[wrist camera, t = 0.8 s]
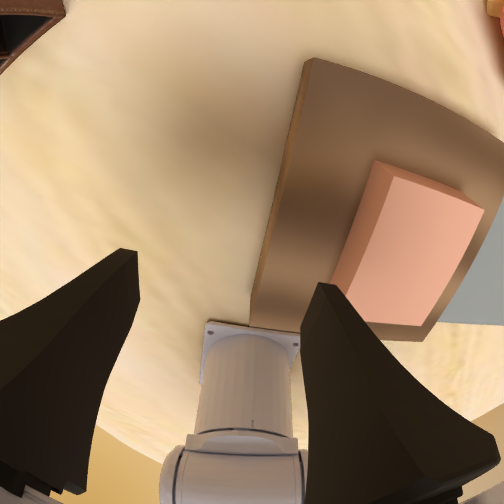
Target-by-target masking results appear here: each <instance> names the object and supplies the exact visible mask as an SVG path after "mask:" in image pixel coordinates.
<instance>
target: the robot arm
mask: <svg viewBox="0 0 504 504" xmlns="http://www.w3.org/2000/svg"><path fill="white" fill-rule="evenodd" d="M139 302H140V290H139V275H138V254H137V251H133V250H128V249H122V248H120V249H118V250H116V251H115V252H113V253H111V254H110V255H108V256H107V257H105V258H104V259H103V260H101V261H100V262H98V263H97V264H95V265H94V266H92V267H91V268H89V269H88V270H86V271H85V272H84V273H82V274H81V275H79V276H78V277H76V278H75V279H73V280H72V281H70V282H69V283H67V284H65V285H64V286H62V287H61V288H59V289H58V290H56V291H55V292H53V293H52V294H50V295H48V296H47V297H45V298H43V299H42V300H40V301H38V302H37V303H35V304H33V305H31V306H29V307H28V308H26V309H24V310H22V311H20V312H18V313H16V314H14V315H12V316H10V317H8V318H5V319H3V320H1V321H0V504H63V503H61V502H59V501H57V500H54V499H52V498H50V497H49V495H50V492H51V490H52V491H54V492H56V493H58V494H60V495H61V494H62V492H63V489H64V490H66V491H69V492H71V493H73V494H76V495H79V494H82V493H84V492H86V487H87V486H86V485H87V474H88V464H89V456H90V450H91V444H92V438H93V433H94V428H95V424H96V419H97V415H98V411H99V407H100V403H101V399H102V396H103V392H104V389H105V386H106V383H107V381H108V378H109V376H110V373H111V371H112V369H113V366H114V364H115V362H116V360H117V357H118V355H119V353H120V351H121V348H122V346H123V344H124V342H125V340H126V337H127V335H128V333H129V331H130V328H131V326H132V323H133V320H134V317H135V314H136V311H137V308H138V305H139ZM299 349H300V354H301V363H302V370H303V378H304V385H305V393H306V401H307V409H308V422H309V441H308V450H305V449H303V450H298V439H297V438H293V425H292V406H291V388H290V371H289V370H290V368H291V366H292V364H293V362H294V360H295V357H296V355H297V353H298V351H299ZM199 383H200V384H201V385H202V386H201V392H200V398H199V404H198V411H197V417H196V424H195V430H194V435H193V434H188V435H187V438H186V444H185V446H184V445H178V446H176V447H175V448H174V449H173V450H172V451H171V452H170V453H169V454H168V455H167V456H166V458H165V460H164V463H163V467H162V470H161V474H160V481H159V499H160V504H458V500H457V498H458V497H460V496H462V495H463V490H462V486H463V485H464V484H466V483H468V482H470V481H471V480H474V479H475V478H477V477H479V476H481V475H482V474H484V473H486V472H487V471H489V470H491V469H492V468H494V467H495V466H496V465H498V464H499V462H500V460H501V458H500V454H499V451H498V447H497V444H496V441H495V438H494V436H493V435H492V434H490V433H488V432H487V431H485V430H483V429H482V428H480V427H478V426H476V425H475V424H473V423H471V422H470V421H468V420H467V419H465V418H464V417H462V416H461V415H459V414H458V413H457V412H455V411H454V410H452V409H451V408H450V407H448V406H447V405H446V404H444V403H443V402H442V401H441V400H439V399H438V398H437V397H436V396H435V395H433V394H432V393H431V392H430V391H429V390H428V389H426V388H425V387H424V386H423V385H422V384H421V383H420V382H419V381H418V380H416V379H415V378H414V377H413V376H412V375H411V374H410V373H409V372H408V371H407V370H406V369H405V368H404V367H403V366H402V365H401V364H400V362H399V361H398V360H397V359H396V358H395V357H394V356H393V355H392V354H391V353H390V351H389V350H388V349H387V348H386V347H385V346H384V344H383V343H382V342H381V341H380V340H379V339H378V337H377V336H376V335H375V334H374V332H373V331H372V330H371V329H370V327H369V326H368V325H367V324H366V322H365V321H364V320H363V319H362V317H361V316H360V315H359V313H358V312H357V311H356V309H355V308H354V307H353V306H352V304H351V303H350V302H349V300H348V299H347V298H346V296H345V295H344V294H343V293H342V291H341V290H340V289H339V288H338V287H337V285H335V284H328V283H322V282H318V284H317V286H316V289H315V291H314V294H313V296H312V299H311V301H310V304H309V306H308V309H307V311H306V314H305V316H304V318H303V321H302V323H301V326H300V334H297V333H289V332H281V331H273V330H266V329H258V328H251V327H245V326H238V325H232V324H225V323H219V322H213V321H209V322H207V323H206V325H205V332H204V342H203V351H202V361H201V371H200V382H199ZM459 504H504V482H503V481H502V482H500V483H499V484H497V485H495V486H493V487H492V488H490V489H488V490H486V491H484V492H482V493H481V494H478V495H476V496H474V497H472V498H470V499H468V500H465V501H463V502H461V503H459Z"/></svg>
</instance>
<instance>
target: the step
mask: <svg viewBox="0 0 504 504" xmlns="http://www.w3.org/2000/svg"><path fill="white" fill-rule="evenodd" d="M374 160H376V161H380V162H383V163H386V164H389V165H392V166H395V167H398V168H401V169H404V170H407V171H410V172H412V173H415V174H418V175H421V176H423V177H426V178H429V179H431V180H434V181H437V182H439V183H442V184H444V185H447V186H449V187H452V188H454V189H457V190H459V191H461V192H462V193H464V194H465V195H466V196H468V197H469V198H470V199H471V200H473V201H474V202H475V203H477V204H478V205H479V206H480V207H482V208H483V209H484V213H483V215H482V217H481V220H480V222H479V224H478V226H477V228H476V231H475V233H474V235H473V237H472V239H471V241H470V243H469V245H468V247H467V249H466V251H465V253H464V255H463V257H462V259H461V261H460V263H459V264H458V266H457V268H456V270H455V272H454V274H453V275H452V277H451V279H450V281H449V282H448V284H447V286H446V287H445V289H444V291H443V292H442V294H441V296H440V297H439V299H438V301H437V302H436V304H435V305H434V307H433V309H432V310H431V312H430V313H429V315H428V316H427V318H426V319H425V321H424V322H423V324H422V325H421V326H412V325H400V324H388V323H377V322H366V321H365V322H366V324H367V325H368V326H369V327H370V329H371V330H372V331H373V332H374V334H375V335H376V336H377V337H378V339H379V340H391V341H412V342H423V340H424V339H425V337H426V336H427V335H428V333H429V332H430V331H431V329H432V328H433V326H434V325H435V323H436V322H437V320H438V319H439V318H440V316H441V315H442V313H443V312H444V310H445V308H446V307H447V305H448V304H449V302H450V301H451V299H452V297H453V296H454V294H455V293H456V291H457V289H458V288H459V286H460V284H461V283H462V281H463V279H464V277H465V276H466V274H467V272H468V270H469V269H470V267H471V265H472V263H473V261H474V259H475V257H476V256H477V254H478V252H479V250H480V248H481V246H482V244H483V242H484V240H485V238H486V236H487V234H488V231H489V229H490V227H491V225H492V223H493V220H494V218H495V216H496V214H497V211H498V209H499V207H500V204H501V202H502V199H503V197H504V143H503V142H502V141H500V140H499V139H497V138H496V137H494V136H493V135H491V134H490V133H488V132H487V131H485V130H483V129H482V128H480V127H479V126H477V125H475V124H474V123H472V122H470V121H469V120H467V119H465V118H463V117H462V116H460V115H458V114H456V113H454V112H452V111H451V110H449V109H447V108H445V107H443V106H441V105H439V104H437V103H435V102H433V101H431V100H429V99H427V98H425V97H423V96H420V95H418V94H416V93H414V92H412V91H409V90H407V89H405V88H402V87H400V86H398V85H395V84H393V83H390V82H388V81H385V80H383V79H380V78H377V77H375V76H372V75H369V74H366V73H363V72H361V71H358V70H355V69H352V68H348V67H345V66H342V65H339V64H335V63H332V62H329V61H325V60H321V59H318V58H312V59H310V60H308V61H306V62H304V67H303V72H302V76H301V81H300V85H299V90H298V94H297V99H296V103H295V108H294V112H293V116H292V121H291V125H290V130H289V134H288V139H287V143H286V147H285V152H284V156H283V161H282V165H281V169H280V174H279V178H278V182H277V187H276V191H275V195H274V200H273V204H272V208H271V213H270V217H269V221H268V225H267V230H266V234H265V238H264V242H263V247H262V251H261V255H260V259H259V264H258V268H257V272H256V276H255V280H254V285H253V289H252V293H251V300H250V320H249V326H253V327H260V328H267V329H275V330H282V331H290V332H299V333H300V326H301V323H302V321H303V318H304V316H305V314H306V311H307V309H308V306H309V304H310V301H311V299H312V296H313V294H314V291H315V289H316V286H317V284H318V282H322V283H328V284H329V283H330V281H331V279H332V276H333V274H334V271H335V269H336V266H337V264H338V261H339V259H340V256H341V253H342V251H343V248H344V246H345V243H346V240H347V238H348V235H349V232H350V230H351V227H352V224H353V221H354V219H355V216H356V213H357V210H358V207H359V204H360V202H361V199H362V196H363V193H364V190H365V187H366V184H367V181H368V178H369V175H370V171H371V168H372V165H373V162H374Z"/></svg>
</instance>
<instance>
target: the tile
mask: <svg viewBox="0 0 504 504" xmlns="http://www.w3.org/2000/svg"><path fill="white" fill-rule="evenodd" d="M483 213H484V209H483V208H482V207H480V206H479V205H478V204H477V203H475V202H474V201H473V200H471V199H470V198H469V197H468V196H466V195H465V194H464V193H462V192H461V191H459V190H457V189H454V188H452V187H449V186H447V185H444V184H442V183H439V182H437V181H434V180H431V179H429V178H426V177H423V176H421V175H418V174H415V173H412V172H410V171H407V170H404V169H401V168H398V167H395V166H392V165H389V164H386V163H383V162H380V161H376V160H374V162H373V165H372V168H371V171H370V175H369V178H368V181H367V184H366V187H365V190H364V193H363V196H362V199H361V202H360V204H359V207H358V210H357V213H356V216H355V219H354V221H353V224H352V227H351V230H350V232H349V235H348V238H347V240H346V243H345V246H344V248H343V251H342V253H341V256H340V259H339V261H338V264H337V266H336V269H335V271H334V274H333V276H332V279H331V281H330V283H329V284H335V285H337V287H338V288H339V289H340V290H341V291H342V293H343V294H344V295H345V296H346V298H347V299H348V300H349V302H350V303H351V304H352V306H353V307H354V308H355V309H356V311H357V312H358V313H359V315H360V316H361V317H362V319H363V320H364V321H366V322H377V323H388V324H400V325H412V326H421V325H422V324H423V322H424V321H425V319H426V318H427V316H428V315H429V313H430V312H431V310H432V309H433V307H434V305H435V304H436V302H437V301H438V299H439V297H440V296H441V294H442V292H443V291H444V289H445V287H446V286H447V284H448V282H449V281H450V279H451V277H452V275H453V274H454V272H455V270H456V268H457V266H458V264H459V263H460V261H461V259H462V257H463V255H464V253H465V251H466V249H467V247H468V245H469V243H470V241H471V239H472V237H473V235H474V233H475V231H476V228H477V226H478V224H479V222H480V220H481V217H482V215H483Z"/></svg>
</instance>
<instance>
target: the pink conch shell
mask: <svg viewBox="0 0 504 504" xmlns="http://www.w3.org/2000/svg"><path fill="white" fill-rule="evenodd" d="M487 14H488V15H490V16H495V17H499V18H500V23H501V30H502V33H503V36H504V0H488V1H487Z"/></svg>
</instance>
